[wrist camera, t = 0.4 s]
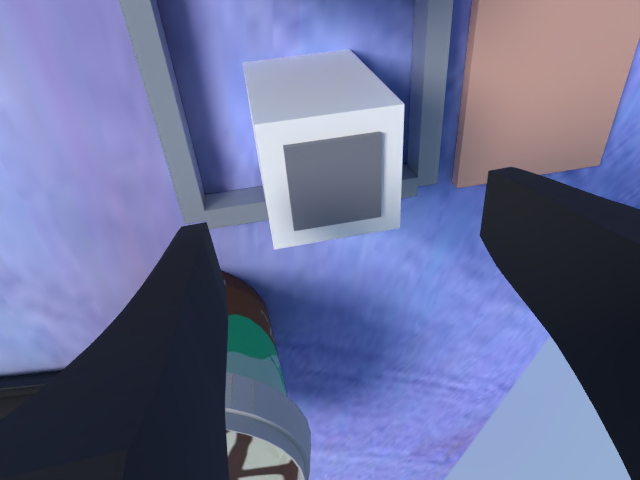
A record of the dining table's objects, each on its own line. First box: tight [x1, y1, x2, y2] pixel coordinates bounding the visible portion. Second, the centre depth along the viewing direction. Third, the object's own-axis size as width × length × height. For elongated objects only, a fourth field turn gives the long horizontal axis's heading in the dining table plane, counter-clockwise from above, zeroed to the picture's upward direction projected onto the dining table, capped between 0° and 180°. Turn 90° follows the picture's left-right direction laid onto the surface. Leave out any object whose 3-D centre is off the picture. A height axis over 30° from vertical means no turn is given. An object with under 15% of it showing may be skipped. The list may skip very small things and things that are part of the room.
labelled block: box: [242, 49, 405, 249], centre depth 17 cm, size 4×4×7 cm
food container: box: [221, 271, 311, 480], centre depth 23 cm, size 12×6×10 cm, turn 5°
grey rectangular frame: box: [119, 0, 454, 229], centre depth 17 cm, size 12×17×2 cm
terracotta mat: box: [452, 0, 640, 188], centre depth 21 cm, size 8×10×1 cm
